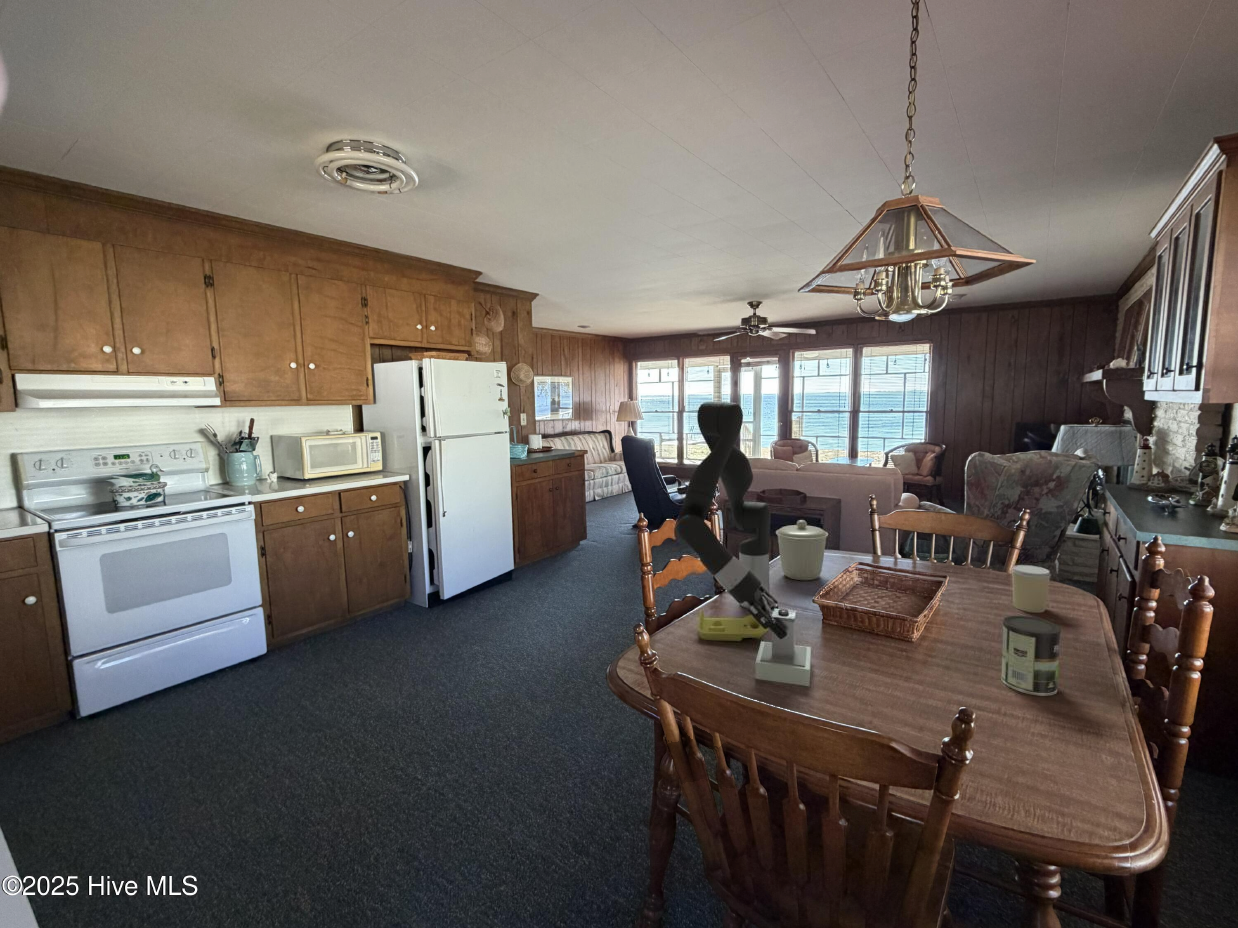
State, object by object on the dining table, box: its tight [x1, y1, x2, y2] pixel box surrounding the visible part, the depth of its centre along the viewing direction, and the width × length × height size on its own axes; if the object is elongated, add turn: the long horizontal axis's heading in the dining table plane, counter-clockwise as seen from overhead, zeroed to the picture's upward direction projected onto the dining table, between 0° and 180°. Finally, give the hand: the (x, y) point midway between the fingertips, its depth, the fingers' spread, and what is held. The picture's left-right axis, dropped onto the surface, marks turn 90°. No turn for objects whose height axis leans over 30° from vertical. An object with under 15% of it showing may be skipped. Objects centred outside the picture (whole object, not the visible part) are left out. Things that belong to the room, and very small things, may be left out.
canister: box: [775, 519, 829, 581], centre depth 202 cm, size 18×18×21 cm
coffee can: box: [1000, 615, 1062, 697], centre depth 123 cm, size 10×10×14 cm
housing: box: [771, 608, 797, 659], centre depth 132 cm, size 5×5×11 cm
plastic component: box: [697, 609, 770, 642], centre depth 154 cm, size 20×7×10 cm
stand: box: [755, 640, 812, 687], centre depth 133 cm, size 12×12×4 cm
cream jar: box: [1011, 564, 1052, 613], centre depth 166 cm, size 9×9×12 cm
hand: (785, 629), depth 132 cm, fingers open, 8 cm apart
